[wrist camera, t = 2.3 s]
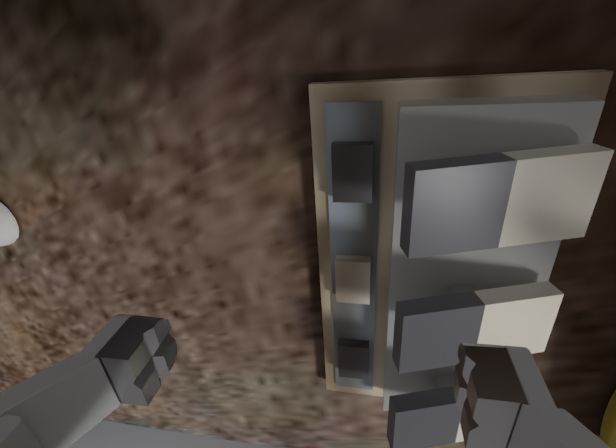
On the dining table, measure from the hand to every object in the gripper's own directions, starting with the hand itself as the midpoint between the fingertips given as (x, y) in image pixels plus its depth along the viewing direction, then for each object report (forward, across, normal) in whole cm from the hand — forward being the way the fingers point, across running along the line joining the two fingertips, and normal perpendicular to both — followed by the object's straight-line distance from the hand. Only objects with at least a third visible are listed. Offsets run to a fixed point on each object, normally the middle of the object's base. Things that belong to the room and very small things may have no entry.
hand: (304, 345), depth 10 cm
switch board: (+15, -5, +8) cm, 18 cm away
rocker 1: (+11, -7, +16) cm, 21 cm away
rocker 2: (+11, -7, 0) cm, 13 cm away
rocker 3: (+11, -7, +8) cm, 16 cm away
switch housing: (+15, -7, +8) cm, 18 cm away
